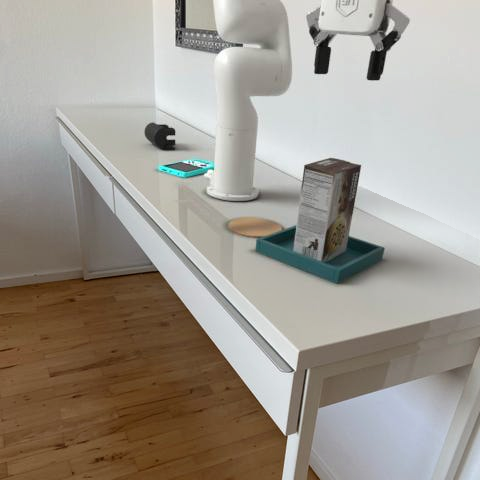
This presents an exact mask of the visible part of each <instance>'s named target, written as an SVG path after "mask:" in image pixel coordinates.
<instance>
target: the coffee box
mask: <svg viewBox="0 0 480 480" xmlns="http://www.w3.org/2000/svg"><path fill="white" fill-rule="evenodd" d="M361 169H362V164H358V163H354V162H351V161H347V160H345V159H340V158H335V157H329V158H328V157H327V158H325V159H322V160H317V161H314V162H310V163H306V164H304V165H303V173H302V180H301V189H300V195H299V196H300V197H299V203H298V212H297V220H296V225H297V226H296V233H295V241H294V249H293V251H295V252H297V253H300V254H303V255H305V256H308V257H311V258H313V259H316V260H319V261H321V262H324V263H325V262H327V261H329V260H331V259H333V258H335V257H336V256H338V255H340V254H342V253H344V252H346V248H347V242H348V237H349V236H350V230H351V225H352V219H353V214H354V208H355V203H356V197H357V191H358V187H359V181H360V175H361Z"/></svg>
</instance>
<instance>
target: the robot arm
mask: <svg viewBox="0 0 480 480" xmlns="http://www.w3.org/2000/svg"><path fill="white" fill-rule="evenodd" d="M393 2H394V1H393V0H321V2H320V3H321V4H320V5H319V6H317V7H316V8H314V9H313V10H311V11H310V12H308V13H307V14H306V17H305V19H306V22H307V26H308V33H309V36H310V37H311V39H312V40H313V44H314V46H315V55H314V63H313V66H314V70H313V73H314V75H327V74H329V68H330V61H331V54H332V48H331V46H329V45H330V43H332V41H333V40H334V39H335V37H336V36H337V35H346V36H359V37H360V36H362V37H369V38H370V41H371V42H372V44H373V47H374V50H371V52H370V56H369V62H368V67H367V72H366V80H367V81H371V82H373V81H380V80H381V76H382V75H383V74H384V69H385V64H386V59H387V54H388V52H390V51H391V49H392V47H394V45H396V43H397V42H398V41H400V39H401V38H402V35H403V34H404V32H405V31H406V29H407V27H408V26H409V24H410V21H411V19H410V18H409V17H408V16H407V15H406V14H405V13H403V12H402V10H400V9H398V8H397V7H396V6H394V4H393ZM212 5H213V13H214V21H215V27H216V32H217V34H218V37H220V39H221V40H222V41H224V42H227V43H232V44H242V45H255V46H259V47H260V48H259V47H250V46H230V47H226V48H224V49H222V50H221V51H220V52H218V54H217V55H216V57H215V60H214V62H213V63H214V64H213V78H214V84H215V85H214V86H215V97H216V98H215V100H216V113H215V115H216V116H215V120H216V121H215V143H214V160H213V161H214V162H213V163H214V170H211V169H209V170H208V171H207V172H206V173H203V178H204V179H206V180H210V182H209V183H210V184H209V185H208V186H207V187H206V193H207V195H208V196H210V197H212V198H215V199H219V200H222V201H223V200H224V201H230V202H246V201H252V200H255V199H257V198H258V197H259V189H257V188H256V187H254V174H255V164H256V163H255V162H256V151H257V149H256V148H257V141H258V140H257V139H258V130H259V129H258V126H259V117H258V113H257V110H256V107H255V105H254V104H253V102H252V100H251V97H279V96H280V97H281V96H282V95H284V94H285V93H286V92H288V90H289V89H290V86H291V83H292V77H293V61H292V49H291V38H290V27H289V16H288V12H287V9H286V7H285V4H284V3H283V2H282V1H281V0H212ZM390 20H392V21H393V22H394V25H393V27H392V30H391V31H390V32H388V34H387V31H388V29H389V26H390V22H391V21H390Z"/></svg>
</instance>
